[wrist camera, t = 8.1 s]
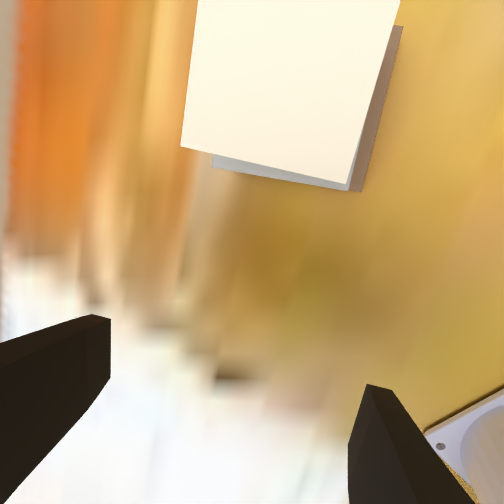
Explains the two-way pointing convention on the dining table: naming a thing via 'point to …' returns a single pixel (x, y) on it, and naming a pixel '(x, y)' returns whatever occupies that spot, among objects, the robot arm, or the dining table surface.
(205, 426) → the dining table surface
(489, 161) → the dining table surface
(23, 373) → the robot arm
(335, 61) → the cream cube
